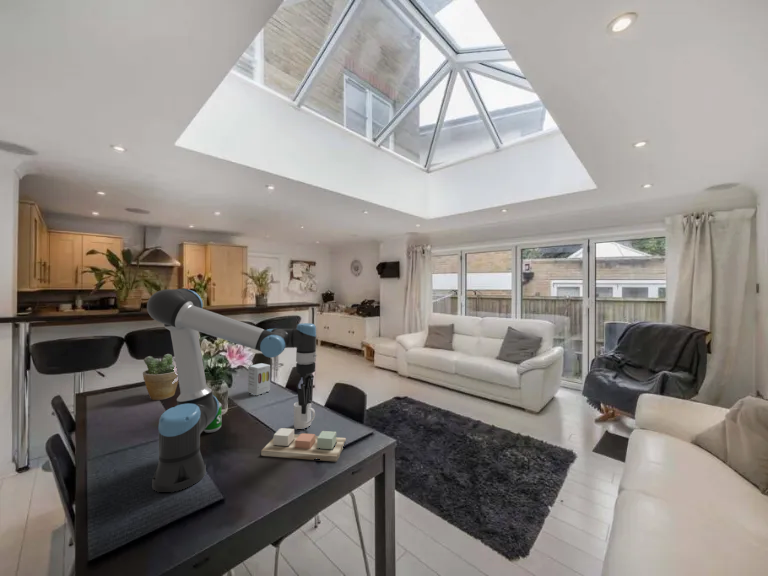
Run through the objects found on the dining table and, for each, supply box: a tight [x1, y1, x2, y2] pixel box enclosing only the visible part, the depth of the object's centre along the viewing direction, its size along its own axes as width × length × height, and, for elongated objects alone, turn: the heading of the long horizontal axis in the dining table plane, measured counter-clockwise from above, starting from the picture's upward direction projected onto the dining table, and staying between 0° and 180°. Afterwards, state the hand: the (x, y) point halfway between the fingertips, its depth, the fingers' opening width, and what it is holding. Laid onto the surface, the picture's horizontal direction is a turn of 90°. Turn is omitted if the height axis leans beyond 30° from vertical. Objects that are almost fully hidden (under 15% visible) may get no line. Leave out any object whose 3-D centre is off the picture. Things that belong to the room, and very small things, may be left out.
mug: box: [293, 401, 316, 430], centre depth 143 cm, size 12×8×10 cm, turn 53°
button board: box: [260, 433, 347, 462], centre depth 124 cm, size 14×30×2 cm, turn 83°
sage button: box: [317, 430, 337, 450], centre depth 123 cm, size 6×6×4 cm
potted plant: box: [142, 353, 179, 401], centre depth 180 cm, size 18×19×25 cm
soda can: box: [202, 400, 223, 434], centre depth 140 cm, size 8×8×12 cm
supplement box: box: [247, 362, 271, 395], centre depth 188 cm, size 10×9×17 cm
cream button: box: [273, 427, 295, 447], centre depth 125 cm, size 6×6×4 cm
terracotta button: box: [295, 432, 316, 449], centre depth 124 cm, size 6×6×4 cm
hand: (304, 420), depth 124 cm, fingers closed
